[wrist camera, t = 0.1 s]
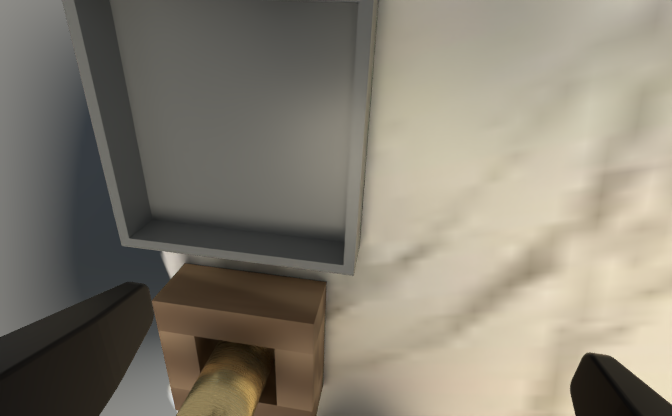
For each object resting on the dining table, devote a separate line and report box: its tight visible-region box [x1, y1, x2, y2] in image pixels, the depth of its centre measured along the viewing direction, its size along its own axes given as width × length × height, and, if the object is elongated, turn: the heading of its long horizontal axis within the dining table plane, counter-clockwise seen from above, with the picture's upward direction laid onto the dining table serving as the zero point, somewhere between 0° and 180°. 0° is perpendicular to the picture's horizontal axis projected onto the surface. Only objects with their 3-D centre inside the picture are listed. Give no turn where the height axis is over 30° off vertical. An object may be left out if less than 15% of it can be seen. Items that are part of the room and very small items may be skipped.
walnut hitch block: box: [152, 263, 326, 416], centre depth 27 cm, size 10×10×4 cm
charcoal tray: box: [62, 0, 379, 276], centre depth 21 cm, size 14×14×3 cm
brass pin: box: [176, 340, 275, 416], centre depth 24 cm, size 6×6×12 cm
